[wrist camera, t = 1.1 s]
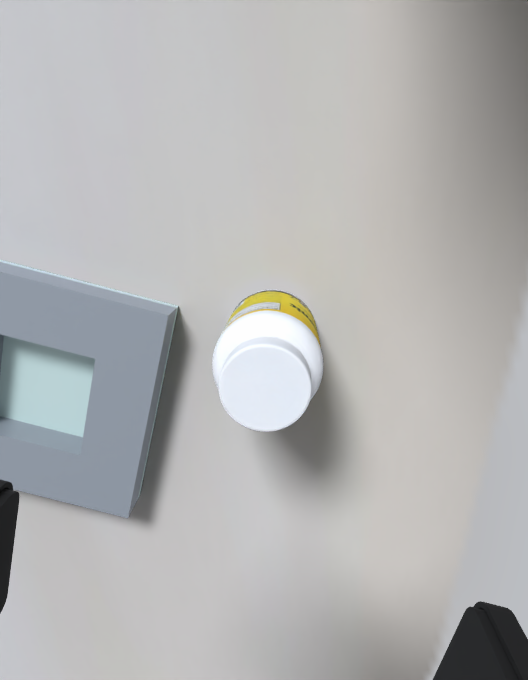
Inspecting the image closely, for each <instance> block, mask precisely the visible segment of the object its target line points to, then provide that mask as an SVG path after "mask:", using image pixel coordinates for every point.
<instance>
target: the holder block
mask: <svg viewBox="0 0 528 680" xmlns="http://www.w3.org/2000/svg"><path fill="white" fill-rule="evenodd" d="M177 311H178V306H176V305H173V304H169V303H165V302H161V301H157V300H153V299H150V298H146V297H142V296H138V295H134V294H130V293H126V292H123V291H119V290H115V289H111V288H107V287H103V286H100V285H96V284H92V283H88V282H84V281H80V280H76V279H73V278H69V277H65V276H61V275H57V274H53V273H50V272H46V271H42V270H38V269H34V268H30V267H27V266H23V265H19V264H15V263H11V262H7V261H3V260H0V480H4V481H8V482H11V483H12V485H13V489H14V490H18V491H22V492H26V493H30V494H34V495H38V496H42V497H46V498H50V499H54V500H58V501H62V502H66V503H70V504H73V505H77V506H81V507H85V508H89V509H93V510H97V511H101V512H105V513H109V514H113V515H117V516H121V517H125V518H128V517H129V515H130V513H131V511H132V510H133V508H134V506H135V504H136V502H137V500H138V498H139V496H140V492H141V487H142V483H143V478H144V473H145V468H146V463H147V458H148V453H149V448H150V443H151V438H152V434H153V429H154V424H155V419H156V414H157V409H158V404H159V399H160V394H161V390H162V385H163V380H164V375H165V370H166V365H167V360H168V355H169V350H170V345H171V341H172V336H173V331H174V326H175V321H176V316H177Z"/></svg>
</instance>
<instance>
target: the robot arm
mask: <svg viewBox="0 0 528 680" xmlns="http://www.w3.org/2000/svg"><path fill="white" fill-rule="evenodd" d="M18 505H19V493H18V492H16V491H13V485H12V483H11V482H8V481H4V480H0V613H1V611H2V609H3V607H4V604H5V602H6V599H7V594H8V586H9V578H10V570H11V562H12V553H13V545H14V537H15V529H16V521H17V513H18ZM433 680H528V639H527V637H526V635H525V634H524V632H523V630H522V628H521V626H520V625H519V623H518V621H517V619H516V617H515V615H514V614H513V613H512V611H511V610H509V609H508V608H505V607H501V606H497V605H493V604H489V603H485V602H478V603H476V604H475V606H474V607H469V608H467V609H466V611H465V613H464V615H463V617H462V619H461V621H460V623H459V626H458V627H457V630H456V632H455V634H454V636H453V638H452V640H451V642H450V644H449V647H448V649H447V651H446V653H445V655H444V657H443V659H442V661H441V664H440V666H439V668H438V670H437V672H436V674H435V676H434V678H433Z"/></svg>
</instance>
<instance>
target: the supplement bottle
mask: <svg viewBox="0 0 528 680" xmlns="http://www.w3.org/2000/svg"><path fill="white" fill-rule="evenodd" d="M212 370H213V377H214V380H215V383H216V386H217V388H218V391H219V396H220V400H221V403H222V405H223V407H224V409H225V410H226V412H227V413H228V414H229V415H230V416H231V418H232V419H234V420H235V421H236V422H237V423H239V424H240V425H242V426H244V427H246V428H249V429H251V430H255V431H263V432H270V431H277V430H280V429H283V428H286V427H288V426H290V425H291V424H293V423H294V422H296V421H297V420H298V419H299V418H300V417H301V416H302V415H303V413H304V412H305V410H306V409H307V407H308V405H309V402H310V400H311V399H312V398H313V396H314V395H315V393H316V392H317V390H318V388H319V385H320V383H321V380H322V375H323V356H322V350H321V346H320V341H319V337H318V332H317V327H316V324H315V321H314V318H313V315H312V313H311V311H310V310H309V308H308V307H307V306H306V305H305V303H304V302H303V301H301V300H300V299H299V298H298V297H296V296H294V295H293V294H290V293H288V292H285V291H281V290H263V291H259V292H256V293H254V294H252V295H250V296H248V297H247V298H245V299H244V300H243V301H242V302H241V303H240V304H239V305H238V306H237V307H236V308H235V310H234V311H233V313H232V315H231V317H230V319H229V321H228V323H227V325H226V326H225V328H224V330H223V332H222V334H221V336H220V338H219V340H218V342H217V344H216V347H215V350H214V354H213V360H212Z"/></svg>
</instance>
